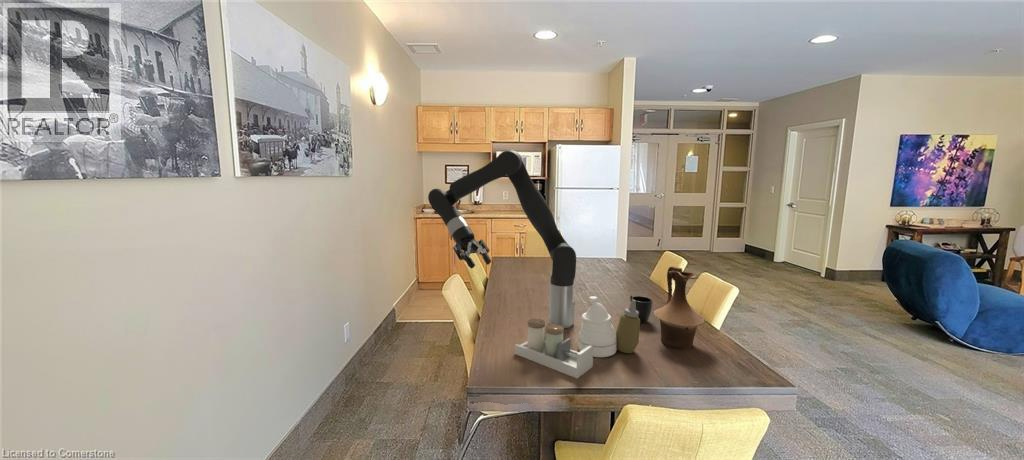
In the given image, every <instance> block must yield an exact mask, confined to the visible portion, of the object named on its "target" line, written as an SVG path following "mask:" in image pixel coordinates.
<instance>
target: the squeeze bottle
mask: <svg viewBox="0 0 1024 460" xmlns="http://www.w3.org/2000/svg"><path fill="white" fill-rule="evenodd" d="M638 315H639V312H638V311H637V310H636V301H635V300H632V301H630V304H629V305H628V307H627V308H624V313H623V314H621V315H620V317H619V321H618V324H617V328H616V331H615V333H616V341H617V350H618V351H619V352H621V353H623V354H624V353H625V354H633V353H634V351H636V348H637V346H638V345H639V340H640V330H641V329H640V328H641V323H640V319H639V318H638Z"/></svg>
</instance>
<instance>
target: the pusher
mask: <svg viewBox="0 0 1024 460" xmlns="http://www.w3.org/2000/svg"><path fill="white" fill-rule="evenodd" d="M571 342H572V341H571V338H569V337H568V338H566V339H565V340H563V342H561V343H560V344H558V345H557V354H556V359H559V360H561V361H564V360H565V359H567V358H568V357H569V356H570V357H573V358H575V357H576V355H575V354H572V353H570V349H571Z"/></svg>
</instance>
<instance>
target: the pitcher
mask: <svg viewBox="0 0 1024 460" xmlns="http://www.w3.org/2000/svg"><path fill="white" fill-rule="evenodd" d="M697 278H698V276H697V275H696V273H693V272H689V271H683V268H682V267H679V266H674V265H673V266H669V267H668V268H667V272H666V282H667V301H666V303H665V304H664V306H662V307H660V308H657V309H655V310H654V312H653V314H654V316H655V317H656V318H658V319H659V322H660V341H661V343H662V344H663V345H664V346H665V345H666V346H667V347H669V348H671V349H672V348H673V349H675V348H677V350H689V349H691V347H692V348H693V346H694V345H693V344H694V339H695V336H696V332H697V328H698V327H699V326H702V325H704V324H705V323H706V322H705V321H706V320H705V318H704V316H702V315H701V314H700V313H699V312H697V311H696V310H695V309H694V308H693V307H692V306H691V305H690V304H689V302H688V300H687V296H686V294H687V293H686V288H687V287H686V286H687V282H688V281H689V280H695V279H697ZM672 281H674V292H673V286H672V285H673V282H672ZM688 348H689V349H688Z"/></svg>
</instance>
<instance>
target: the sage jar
mask: <svg viewBox="0 0 1024 460" xmlns="http://www.w3.org/2000/svg"><path fill="white" fill-rule="evenodd" d="M564 331H565V328H563V327H562V326H560V325H556V324H551V325H550V324H547V325H545V341H546V345H545V355H548V356H551V357H553V358H556V354H557V345H558V344H560V343H561V342H563V341H564Z"/></svg>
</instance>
